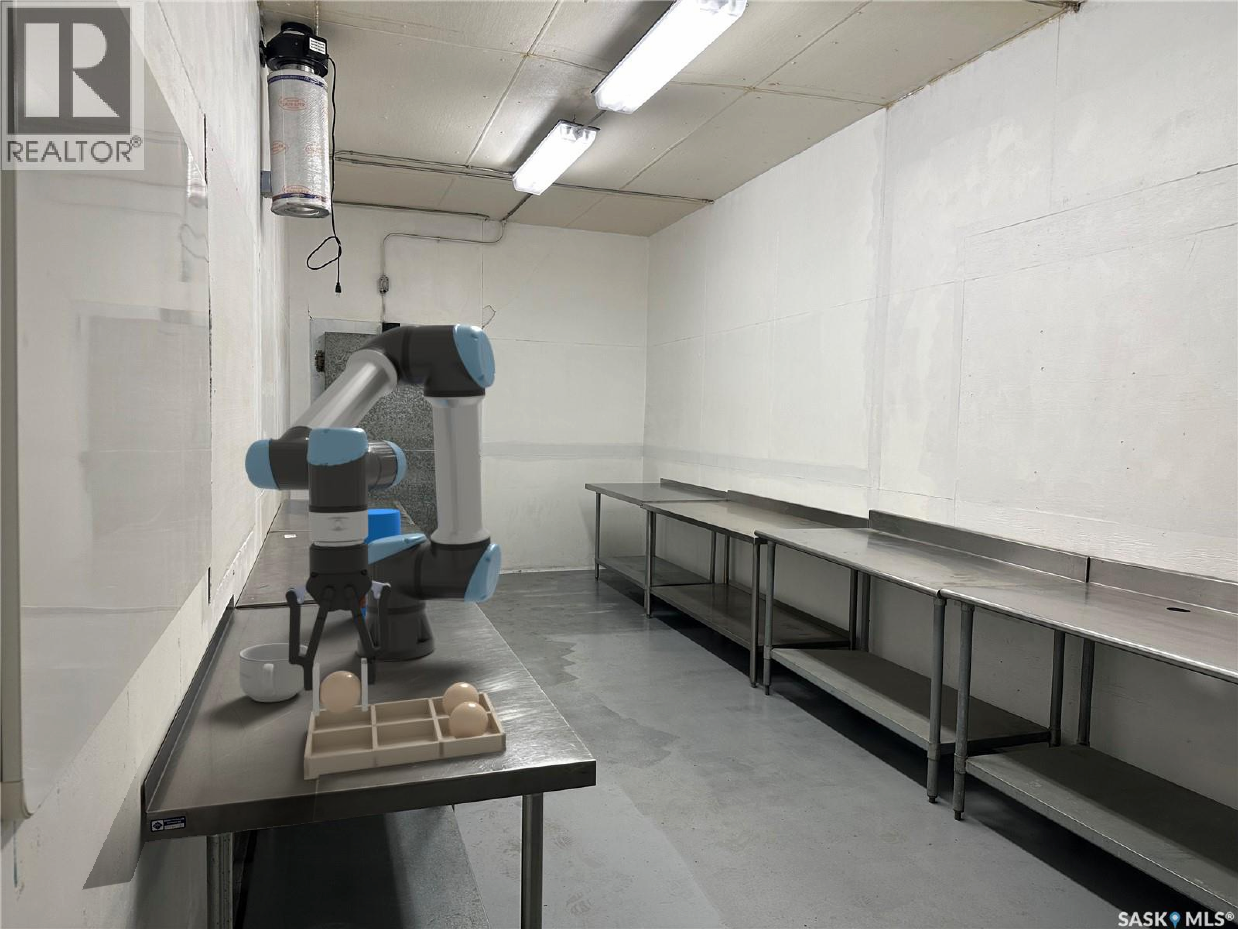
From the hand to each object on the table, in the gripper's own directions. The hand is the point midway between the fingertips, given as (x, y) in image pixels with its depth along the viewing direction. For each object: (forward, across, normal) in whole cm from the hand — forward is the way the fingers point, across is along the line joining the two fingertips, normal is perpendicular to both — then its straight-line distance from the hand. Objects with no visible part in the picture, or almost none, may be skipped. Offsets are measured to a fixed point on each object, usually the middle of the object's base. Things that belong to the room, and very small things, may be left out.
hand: (340, 709), depth 106 cm
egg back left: (+7, +17, +9) cm, 20 cm away
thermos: (+7, +7, +78) cm, 79 cm away
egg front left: (+7, +17, 0) cm, 19 cm away
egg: (0, 0, 0) cm, 0 cm away
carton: (+7, +9, +4) cm, 12 cm away
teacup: (+7, -11, +28) cm, 31 cm away
